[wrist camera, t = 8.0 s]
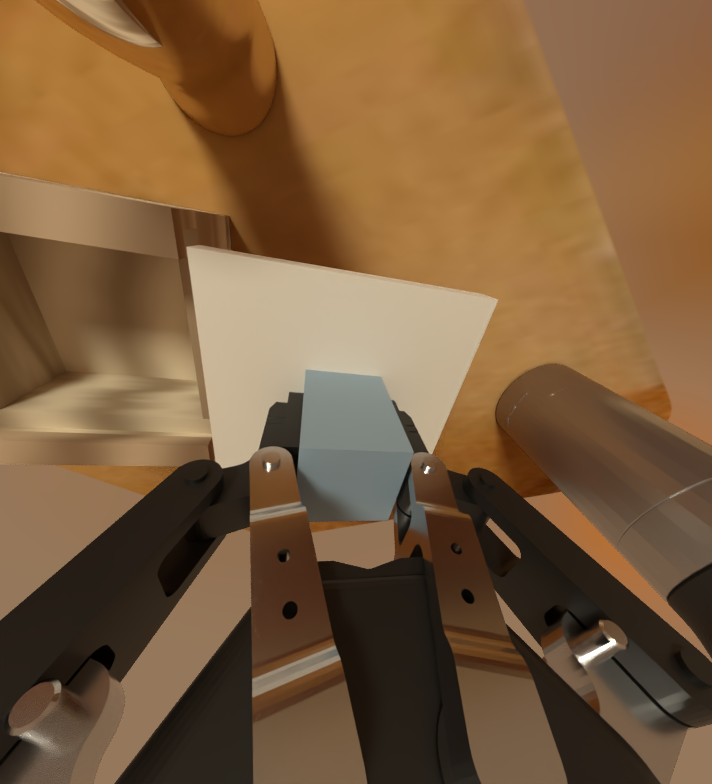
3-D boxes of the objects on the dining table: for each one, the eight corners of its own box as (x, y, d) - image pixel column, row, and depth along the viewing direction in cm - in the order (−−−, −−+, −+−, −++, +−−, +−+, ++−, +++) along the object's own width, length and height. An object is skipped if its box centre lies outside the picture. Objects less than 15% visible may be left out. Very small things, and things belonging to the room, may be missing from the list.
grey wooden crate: (229, 216, 17) (170, 207, 10) (240, 396, 24) (210, 466, 17) (-26, 167, 14) (-348, 108, 7) (70, 386, 21) (-48, 463, 14)
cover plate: (483, 294, 12) (608, 342, 7) (412, 472, 18) (451, 570, 13) (199, 245, 10) (66, 262, 5) (224, 467, 16) (178, 586, 11)
